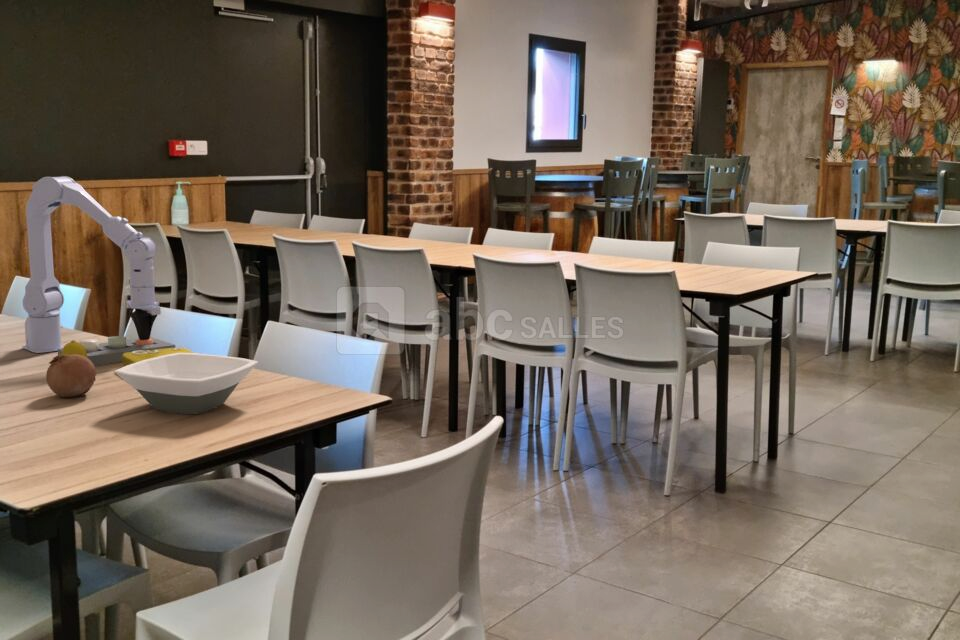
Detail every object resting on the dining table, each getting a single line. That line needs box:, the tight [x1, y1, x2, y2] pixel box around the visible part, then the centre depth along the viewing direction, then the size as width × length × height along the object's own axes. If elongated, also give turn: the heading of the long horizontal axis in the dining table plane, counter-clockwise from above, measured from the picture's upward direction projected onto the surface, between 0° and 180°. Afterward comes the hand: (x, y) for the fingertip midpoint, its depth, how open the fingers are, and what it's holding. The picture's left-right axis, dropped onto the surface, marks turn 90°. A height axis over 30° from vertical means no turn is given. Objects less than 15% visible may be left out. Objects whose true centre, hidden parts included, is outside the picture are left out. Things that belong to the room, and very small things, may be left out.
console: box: [57, 336, 176, 367], centre depth 236 cm, size 13×24×2 cm, turn 135°
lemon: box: [61, 340, 87, 357], centre depth 215 cm, size 6×6×8 cm
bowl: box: [114, 352, 259, 415], centre depth 191 cm, size 22×23×8 cm
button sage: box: [107, 335, 127, 350], centre depth 236 cm, size 4×4×3 cm
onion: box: [45, 354, 97, 399], centre depth 197 cm, size 10×9×10 cm
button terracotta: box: [134, 337, 153, 346], centre depth 241 cm, size 4×4×3 cm
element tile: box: [122, 346, 195, 367], centre depth 222 cm, size 15×15×5 cm
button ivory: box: [79, 338, 99, 353], centre depth 231 cm, size 4×4×3 cm
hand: (144, 339), depth 241 cm, fingers closed, pressing on button terracotta
